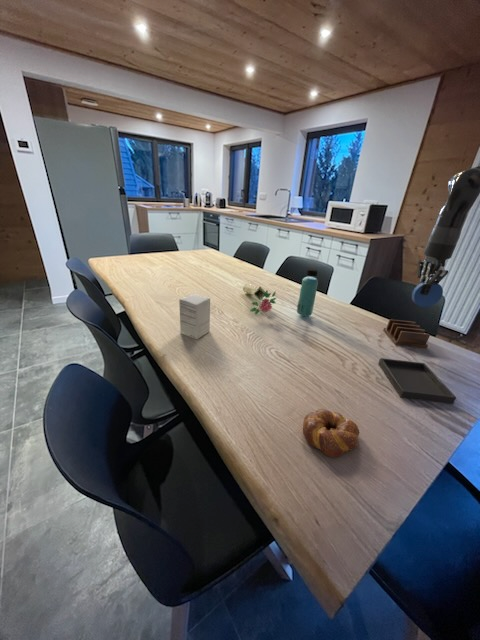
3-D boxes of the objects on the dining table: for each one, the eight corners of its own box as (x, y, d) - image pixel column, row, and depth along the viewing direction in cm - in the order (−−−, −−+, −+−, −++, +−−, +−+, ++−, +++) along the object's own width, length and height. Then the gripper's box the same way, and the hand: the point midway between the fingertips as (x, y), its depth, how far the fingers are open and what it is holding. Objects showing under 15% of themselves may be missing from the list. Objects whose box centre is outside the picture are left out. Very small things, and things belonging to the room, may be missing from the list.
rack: (411, 333, 103) (416, 321, 101) (427, 348, 93) (432, 335, 91) (383, 330, 104) (387, 318, 101) (395, 344, 94) (400, 331, 91)
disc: (426, 309, 94) (446, 288, 90) (429, 311, 92) (449, 289, 88) (406, 298, 93) (424, 276, 89) (408, 300, 91) (427, 277, 87)
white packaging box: (193, 325, 95) (193, 292, 90) (210, 331, 92) (211, 297, 86) (179, 333, 89) (178, 298, 84) (196, 340, 86) (196, 304, 81)
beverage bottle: (313, 315, 111) (323, 269, 103) (308, 321, 106) (318, 272, 97) (298, 311, 114) (307, 266, 105) (293, 316, 109) (301, 269, 100)
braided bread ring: (342, 414, 61) (346, 401, 60) (370, 456, 52) (376, 443, 50) (293, 417, 59) (296, 404, 58) (312, 461, 50) (316, 448, 48)
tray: (421, 368, 81) (424, 363, 80) (453, 403, 67) (456, 397, 66) (378, 363, 82) (380, 358, 81) (400, 397, 68) (403, 391, 67)
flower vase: (253, 308, 133) (280, 325, 100) (230, 301, 129) (251, 317, 96) (261, 286, 131) (291, 296, 98) (238, 278, 127) (261, 286, 94)
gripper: (469, 246, 77) (445, 301, 84) (441, 239, 89) (422, 288, 96) (443, 244, 77) (421, 299, 85) (418, 237, 89) (401, 286, 97)
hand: (422, 293), depth 90 cm, fingers closed on disc, 1 cm apart
